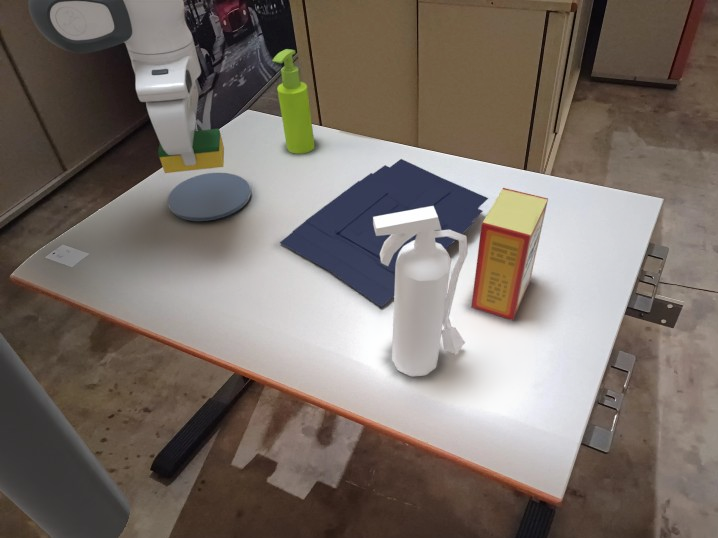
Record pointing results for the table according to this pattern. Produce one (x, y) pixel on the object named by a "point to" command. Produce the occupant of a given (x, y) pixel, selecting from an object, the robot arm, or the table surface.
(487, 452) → the table surface
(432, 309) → the fire extinguisher
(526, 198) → the baking soda box
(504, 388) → the table surface
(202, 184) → the plate
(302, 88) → the soap dispenser
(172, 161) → the sponge
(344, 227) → the folded navy cloth
